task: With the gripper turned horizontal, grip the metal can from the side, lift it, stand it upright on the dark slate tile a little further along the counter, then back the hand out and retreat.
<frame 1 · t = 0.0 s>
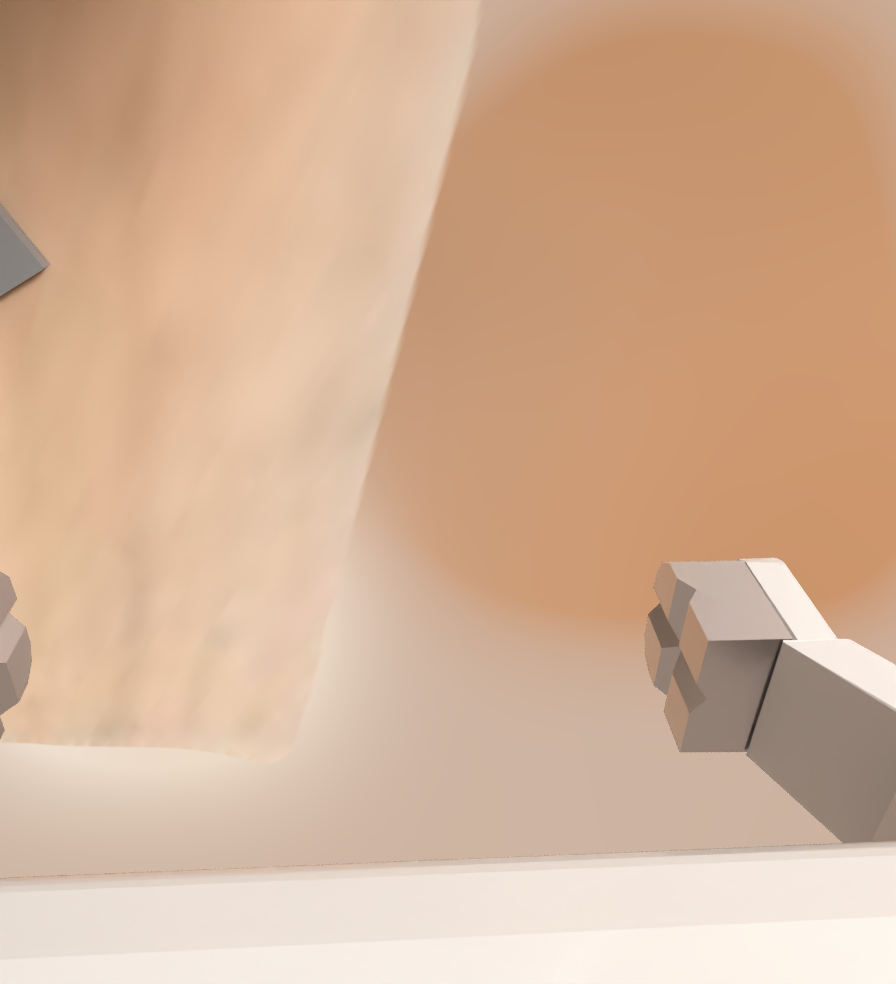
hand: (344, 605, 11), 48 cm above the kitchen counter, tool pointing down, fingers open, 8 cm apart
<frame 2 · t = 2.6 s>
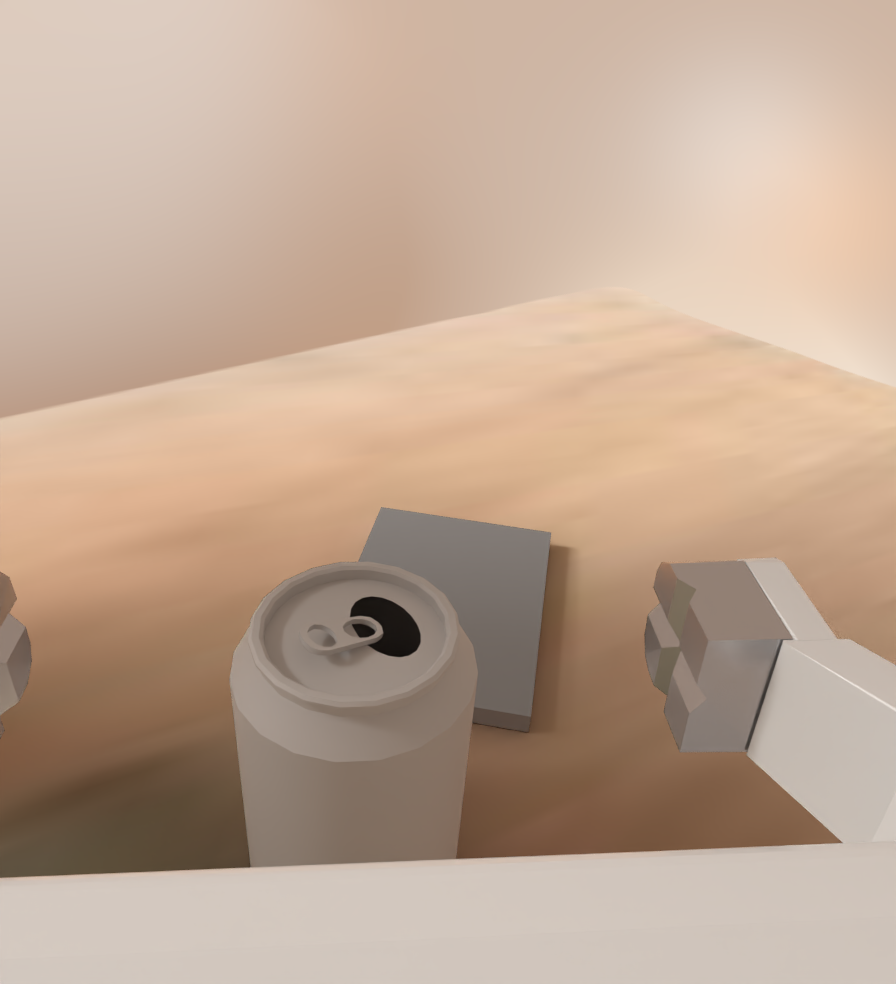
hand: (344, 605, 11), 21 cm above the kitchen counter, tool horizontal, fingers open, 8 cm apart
can: (354, 864, 31), on the kitchen counter
slate tile: (443, 611, 43), on the kitchen counter
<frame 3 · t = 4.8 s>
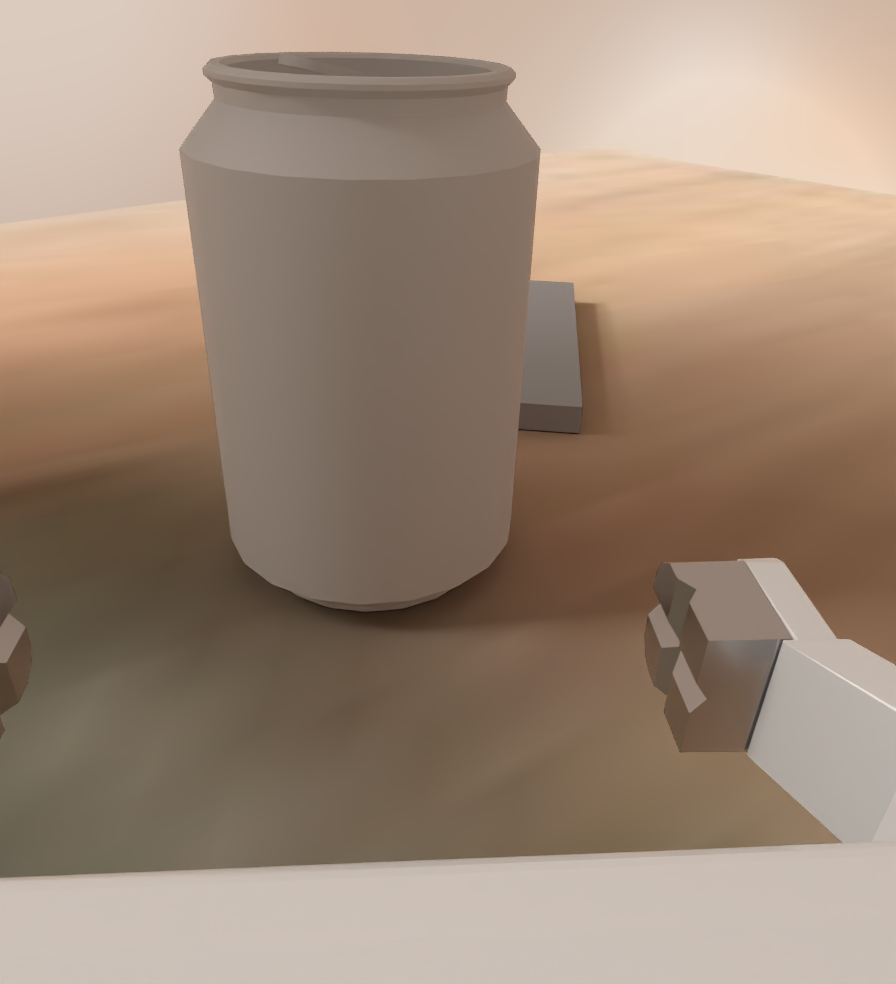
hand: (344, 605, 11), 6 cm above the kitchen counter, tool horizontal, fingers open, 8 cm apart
can: (373, 549, 23), on the kitchen counter
slate tile: (456, 349, 35), on the kitchen counter
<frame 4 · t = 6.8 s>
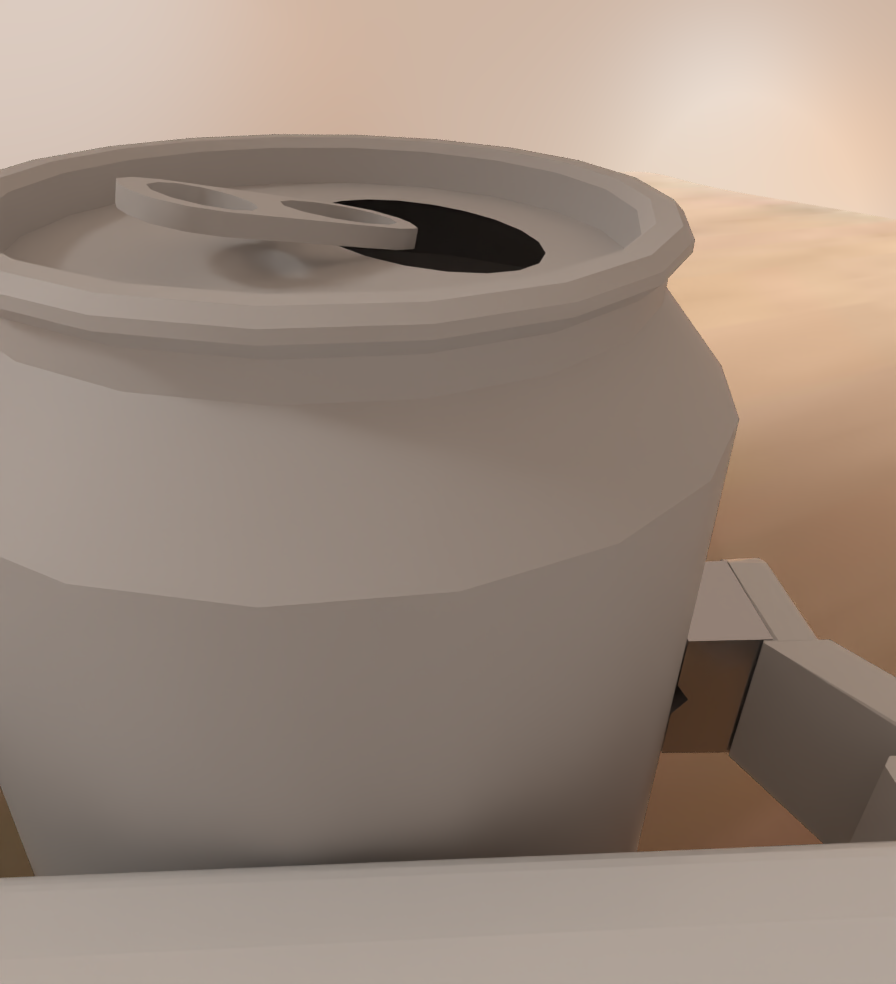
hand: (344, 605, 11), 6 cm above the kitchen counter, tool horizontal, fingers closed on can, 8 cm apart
can: (360, 963, 13), on the kitchen counter, touching gripper
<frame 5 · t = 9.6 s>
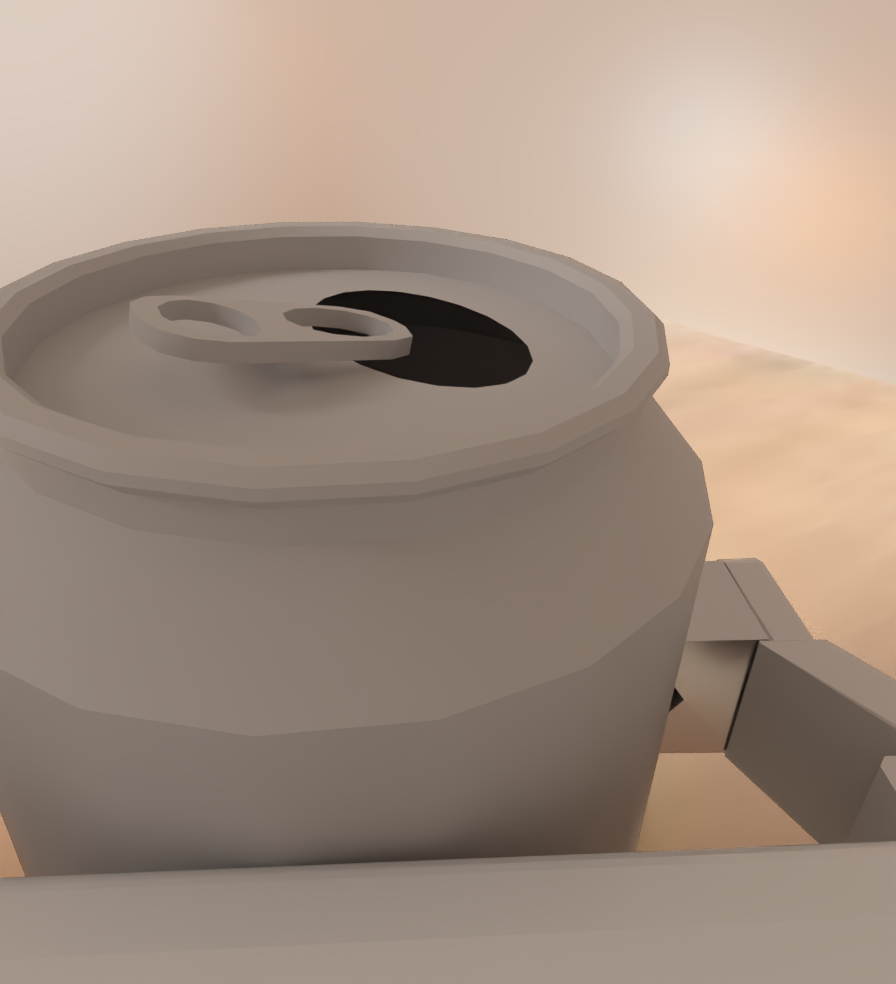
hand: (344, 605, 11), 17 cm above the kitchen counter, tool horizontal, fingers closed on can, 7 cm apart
when the fingers open (9 cm above the kitchen counter, at t = 12.3 s): can stays where it is, resting on slate tile.
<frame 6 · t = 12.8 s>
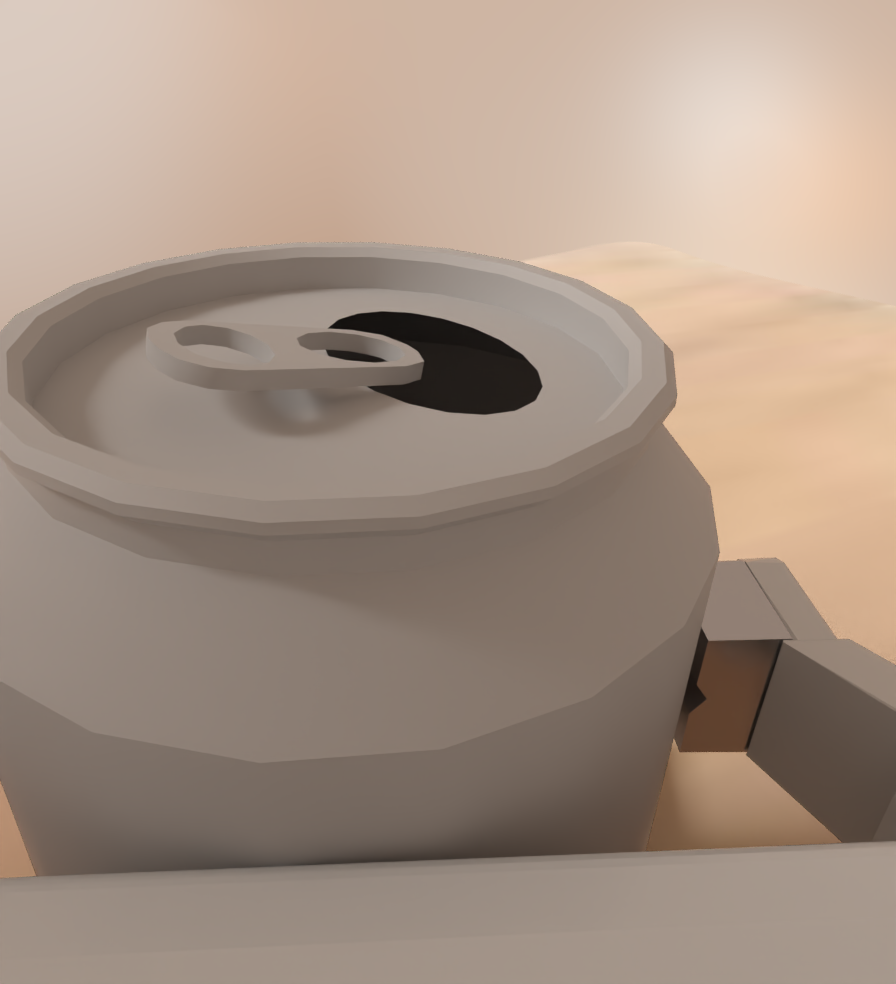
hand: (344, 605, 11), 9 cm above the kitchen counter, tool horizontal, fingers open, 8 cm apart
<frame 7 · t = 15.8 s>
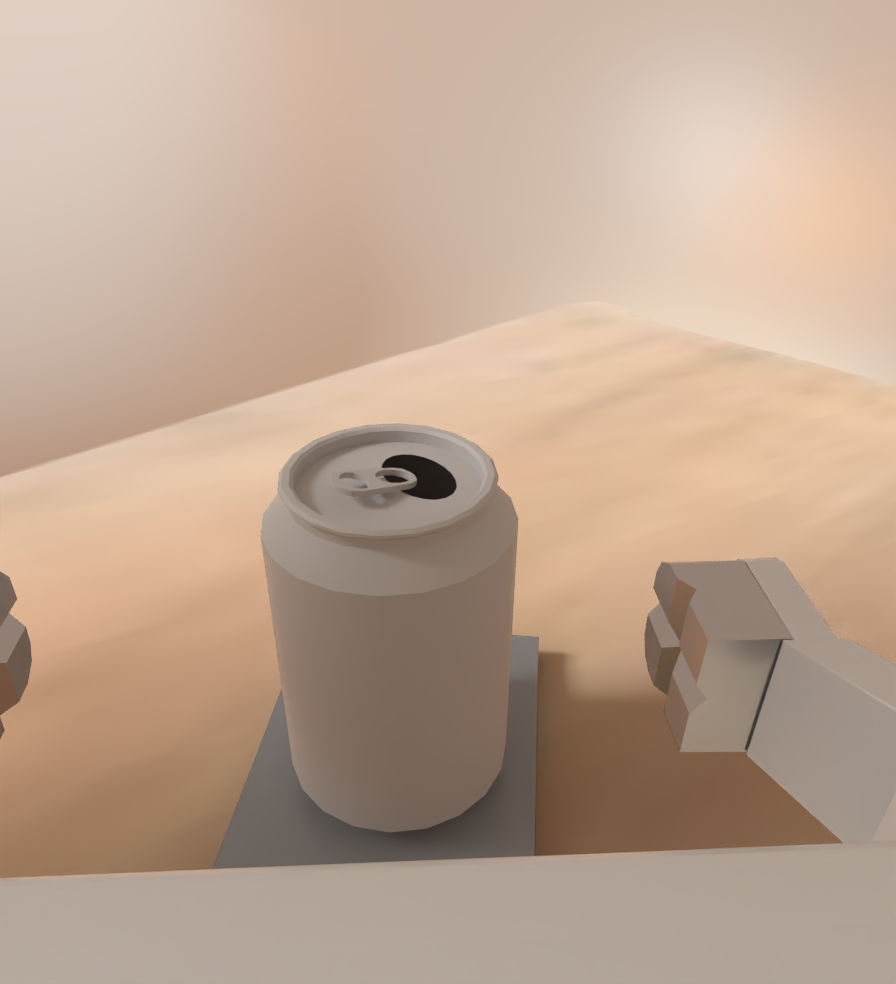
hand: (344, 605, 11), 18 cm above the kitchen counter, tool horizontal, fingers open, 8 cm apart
can: (400, 761, 30), point 1 cm above the kitchen counter, touching slate tile
slate tile: (396, 775, 30), on the kitchen counter
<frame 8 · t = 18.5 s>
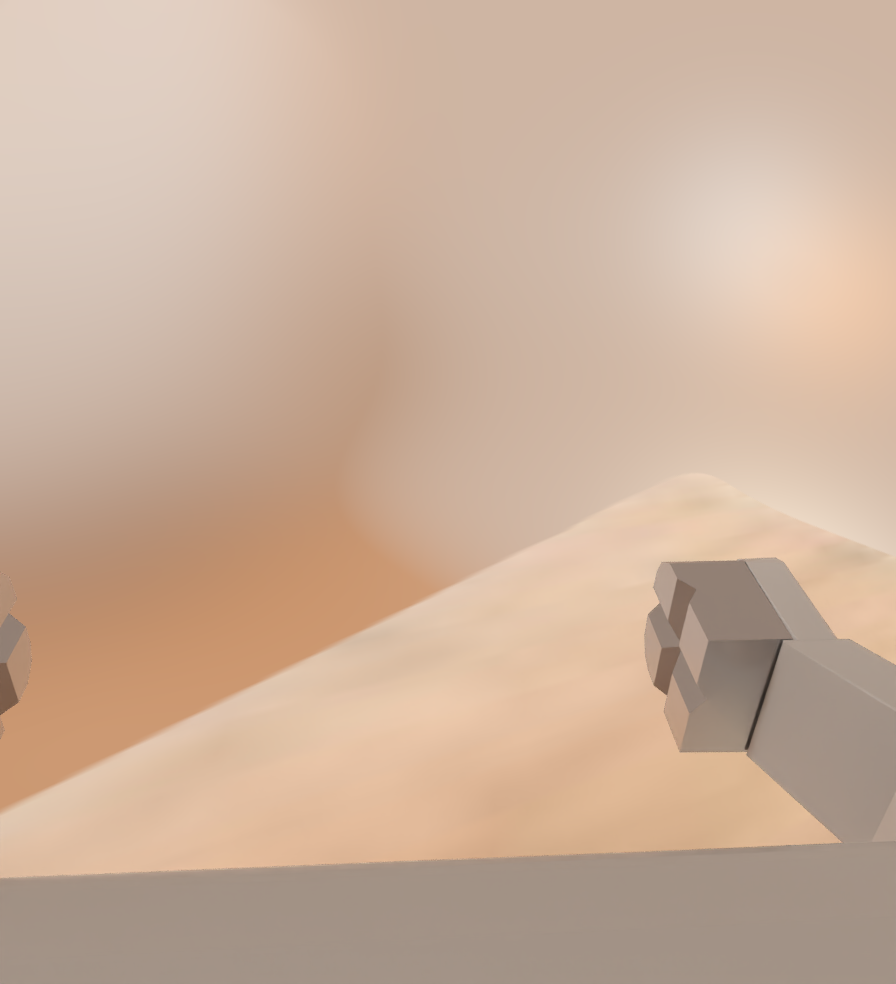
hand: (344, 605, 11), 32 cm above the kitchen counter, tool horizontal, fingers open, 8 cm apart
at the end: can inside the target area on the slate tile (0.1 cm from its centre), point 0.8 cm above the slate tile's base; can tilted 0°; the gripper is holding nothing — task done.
